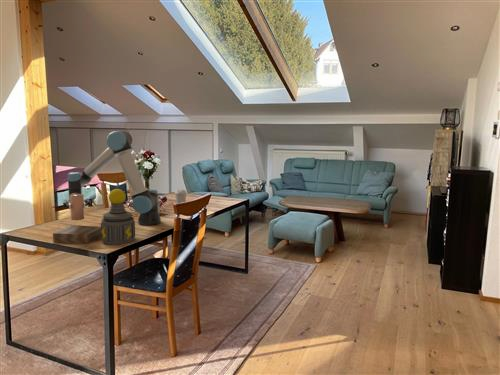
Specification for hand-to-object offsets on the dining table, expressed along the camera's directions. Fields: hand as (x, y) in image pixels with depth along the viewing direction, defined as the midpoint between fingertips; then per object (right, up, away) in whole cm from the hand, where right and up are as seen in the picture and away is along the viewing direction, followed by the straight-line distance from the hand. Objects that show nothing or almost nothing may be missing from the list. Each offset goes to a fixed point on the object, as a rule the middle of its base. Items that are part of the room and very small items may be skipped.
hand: (77, 206), depth 213 cm
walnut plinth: (-2, -19, +7) cm, 20 cm away
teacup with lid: (+23, -9, +74) cm, 78 cm away
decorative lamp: (+22, -20, +5) cm, 30 cm away
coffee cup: (+41, -6, +94) cm, 103 cm away
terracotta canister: (-2, -7, +5) cm, 9 cm away
